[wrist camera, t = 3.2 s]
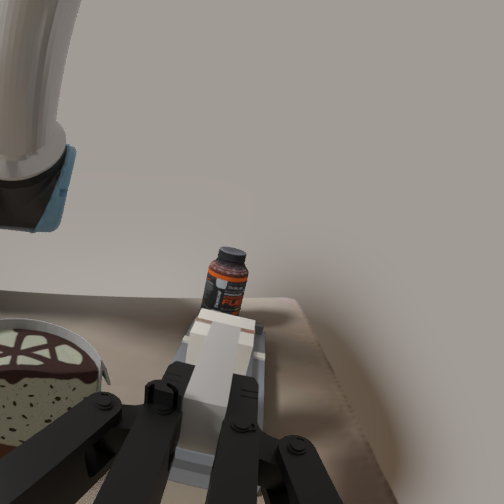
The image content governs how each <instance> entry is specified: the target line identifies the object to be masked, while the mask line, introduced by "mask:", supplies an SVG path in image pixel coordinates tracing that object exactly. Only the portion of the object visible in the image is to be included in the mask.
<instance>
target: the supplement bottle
mask: <svg viewBox="0 0 504 504" xmlns="http://www.w3.org/2000/svg"><path fill="white" fill-rule="evenodd" d="M245 258H246V253H245V252H244V251H242V250H239V249H236V248H231V247H221V248H220V249H219V254H218V258H217V259H216V260H214V261H212V262H211V263H210V266H209V270H208V274H207V279H206V285H205V290H204V295H203V300H202V305H201V309H202V308H204V309H208V310H212V311H216V312H221V313H225V314H229V315H234V316H239V312H240V309H241V304H242V299H243V295H244V291H245V286H246V282H247V278H248V270H247V268H246V266H245V264H244V262H245Z"/></svg>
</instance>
